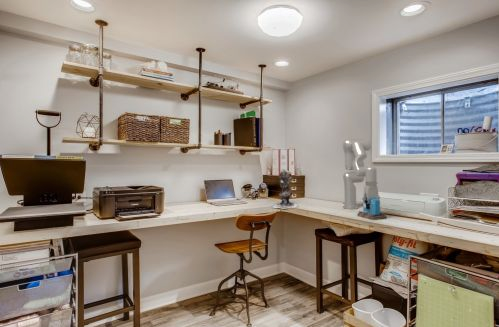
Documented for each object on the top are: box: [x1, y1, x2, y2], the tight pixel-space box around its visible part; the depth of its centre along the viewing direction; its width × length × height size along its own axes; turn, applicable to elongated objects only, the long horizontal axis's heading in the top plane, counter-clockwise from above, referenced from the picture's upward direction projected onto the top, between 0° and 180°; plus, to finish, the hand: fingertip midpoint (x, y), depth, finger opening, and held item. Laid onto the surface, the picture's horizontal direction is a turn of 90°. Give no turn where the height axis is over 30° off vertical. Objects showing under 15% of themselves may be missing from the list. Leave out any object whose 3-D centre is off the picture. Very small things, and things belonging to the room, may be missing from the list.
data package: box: [362, 198, 381, 216], centre depth 212 cm, size 12×4×12 cm, turn 21°
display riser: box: [356, 210, 387, 221], centre depth 212 cm, size 16×12×4 cm
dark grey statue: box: [271, 169, 299, 210], centre depth 266 cm, size 22×25×35 cm
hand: (371, 208), depth 212 cm, fingers open, 6 cm apart
